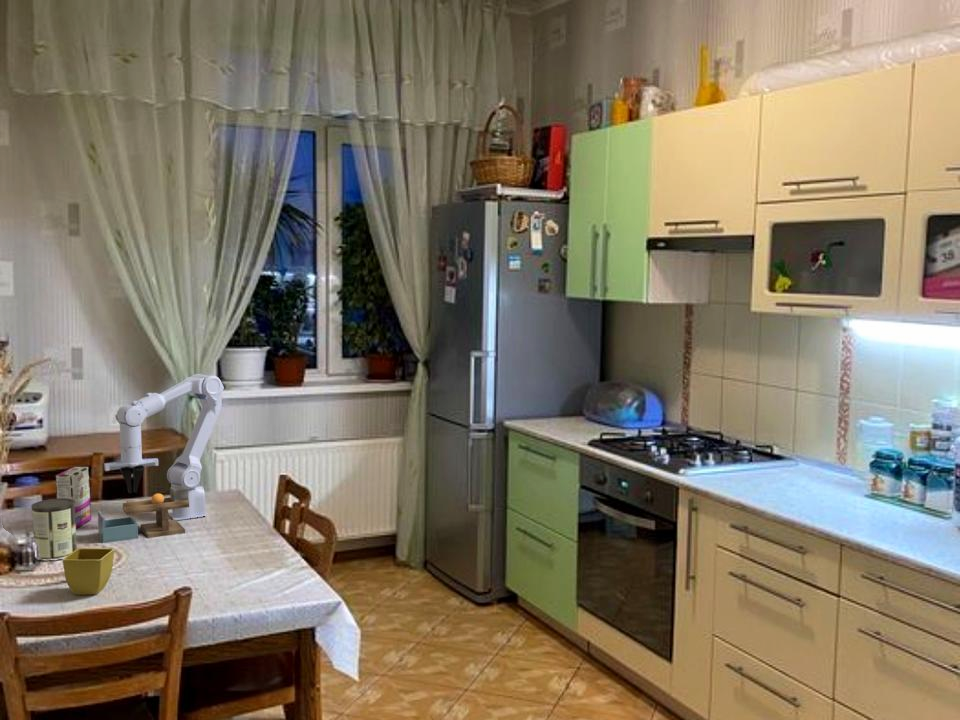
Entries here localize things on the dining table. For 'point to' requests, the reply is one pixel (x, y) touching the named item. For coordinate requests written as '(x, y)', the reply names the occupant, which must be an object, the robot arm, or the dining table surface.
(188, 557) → the dining table surface
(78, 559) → the flower pot
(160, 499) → the ball
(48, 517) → the coffee can
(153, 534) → the chute stand
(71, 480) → the candy bar box
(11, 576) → the dining table surface
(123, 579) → the dining table surface
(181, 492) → the tipping chute
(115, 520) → the blue open bin
